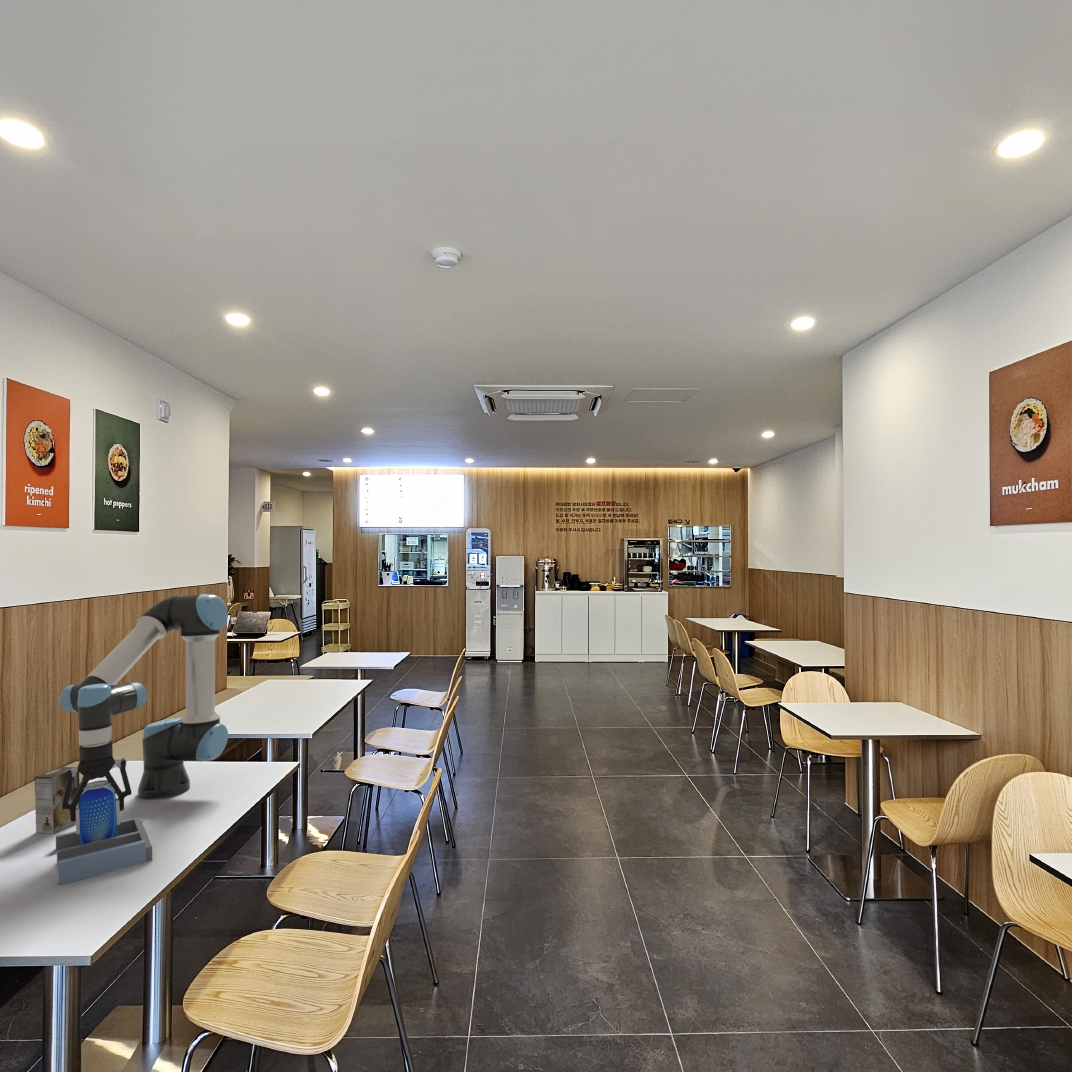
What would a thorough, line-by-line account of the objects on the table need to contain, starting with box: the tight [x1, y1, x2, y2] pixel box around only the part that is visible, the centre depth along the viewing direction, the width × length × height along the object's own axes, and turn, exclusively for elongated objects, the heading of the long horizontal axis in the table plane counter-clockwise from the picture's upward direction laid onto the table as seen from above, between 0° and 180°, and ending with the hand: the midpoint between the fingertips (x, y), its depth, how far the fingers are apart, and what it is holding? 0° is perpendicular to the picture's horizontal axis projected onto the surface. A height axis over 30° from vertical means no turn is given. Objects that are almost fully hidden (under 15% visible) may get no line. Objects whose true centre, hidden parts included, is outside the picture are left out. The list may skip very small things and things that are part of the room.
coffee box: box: [34, 766, 81, 834], centre depth 197 cm, size 9×6×16 cm
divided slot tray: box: [55, 816, 153, 886], centre depth 177 cm, size 20×26×5 cm
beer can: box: [78, 779, 117, 845], centre depth 182 cm, size 8×8×16 cm
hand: (98, 827), depth 182 cm, fingers closed on beer can, 8 cm apart
